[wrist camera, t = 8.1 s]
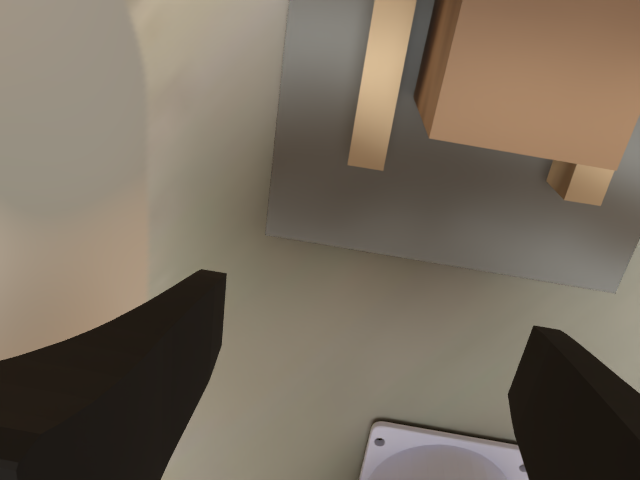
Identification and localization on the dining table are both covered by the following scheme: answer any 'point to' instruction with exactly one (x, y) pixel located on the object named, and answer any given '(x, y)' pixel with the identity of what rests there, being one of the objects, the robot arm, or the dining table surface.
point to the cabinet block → (533, 77)
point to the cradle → (427, 164)
